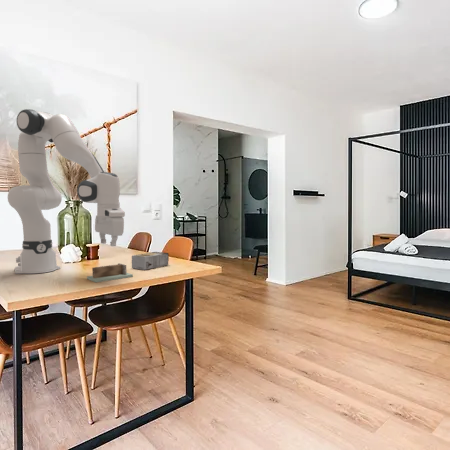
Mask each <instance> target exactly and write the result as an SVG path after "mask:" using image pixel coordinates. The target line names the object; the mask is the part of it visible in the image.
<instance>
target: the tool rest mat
mask: <svg viewBox="0 0 450 450" xmlns="http://www.w3.org/2000/svg"><path fill="white" fill-rule="evenodd" d="M133 276H134V275H133V273H129V272H126V275H124V274H121V275H114V276H107V277H100V278H93V275H89V276H86V280H89V281H91V282H94V283H101V282H107V281H113V280H121V279H126V278H127V279H129V278H133Z"/></svg>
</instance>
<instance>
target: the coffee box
mask: <svg viewBox="0 0 450 450" xmlns="http://www.w3.org/2000/svg"><path fill="white" fill-rule="evenodd" d="M169 256H170V255H169V253H168V252H162V251H153V252H147V253H139V254H133V255H132V256H131V269H136V270H144V271H145V270H151V269H155V268H161V267H165V266H169Z"/></svg>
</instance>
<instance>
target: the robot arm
mask: <svg viewBox="0 0 450 450" xmlns="http://www.w3.org/2000/svg"><path fill="white" fill-rule="evenodd" d="M16 126H17V128H18V130H19V131H20V133H19V135H18V139H17V140H18V142H17V152H18V153H17V155H18V165H19V166H18V167H19V172H20V174H21V175H22V176H23V177H24V178H25V179H26V180H27V181H28V184H29V185H28V184H26V185H25V184H22V185H17V186H13V187H12V188H10V189H9V191H8V193H7V202H8V204H9V206H11V208H13V209H14V210H15V211H16V213H17V214H18V216H19V218H20V220H21V223H22V231H23V232H22V233H23V235H22V236H23V241H22V244H21V245H22V248H21V249H22V251H21V252H20V254H19V256H18V257H16V258H15V263H17V266H15V267H14V274H41V273H43V274H44V273H50V272H53V271H56V270H59V269H61V266H60V265H57V264H58V263H57V254H56V253H57V252H56V251H55V250H54V249H53V240H52V236H51V234H52V231H51V223H50V221H49V220H48V219H46V218H45V217H44V214H43V212H42V211H48V210H52V209H55V208H57V207H59V206H60V205H61V202H62V193H61V192H60V191H59V190H58V188H56V187H55V186H54V184H53V181H52V180H51V177H50V175H49V170H48V164H47V163H48V160H47V153H46V144H47V142H50V143H53V145H54V146H55V148H56V150H57V152H58V153H59V154H60V156H62V158H65V159H67V160H68V161H71V162H73V163H76V164H78V165H79V166H81V167H83V168H84V169H85V170H86V172H87V174H89V176H90V178H88V179H84V180H81V181H80V182H79V183H78V186H77V188H76V194H77V197H78V199H79V200H80V201H81V202H84V203H88V204H90V203H91V204H96V207H97V210H96V211H97V212H96V214H97V215H95V221H94V231H95V233H99V238H100V243H101V244H103V245H104V244H105V245H106V243H107V239H106V235H109V236H111V240H110V242H109V243H110V244H109V245H110V246H111V247H116V246H117V241H118V238H119V236H120V237H121V236H123V235H124V229H125V228H124V227H125V220H124V219H125V218H124V217H125V216H126V214H125V211H124V210H123V209H122V208H121V207H120V206H121V205H120V201H119V200H120V194H121V187H120V185H121V184H120V179H119V176H118V175H117V174H116V173H113V172H107V171H104V170H103V168H102V165H101V164H100V162H99V161H98V160H97V158H96V156H95V155H94V154H93V153H92V152H91V150H90V149H89V148H88V146H87V144H85V142H84V140H83V138H82V137H81V135H80V133H79V131H78V129H77V127H76V126H75V124H74V123H73V121H72V120H71V119H70V118H69V116H67V115H66V114H63V113H61V114H60V113H58V114H52V113H48V112H45V111H39V110H35V109H29V108H28V109H27V108H26V109H25V108H24V109H21V110H20V111H19V112H18V114H17V117H16Z"/></svg>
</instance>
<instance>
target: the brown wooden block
mask: <svg viewBox="0 0 450 450" xmlns="http://www.w3.org/2000/svg"><path fill="white" fill-rule="evenodd" d="M91 269H92V276H93V278H100V277H107V276H114V275H121V274H124V275H126V273H127V264H123V263H117V264H109V265H101V266H95V267H94V266H93V267H92V268H91Z"/></svg>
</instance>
